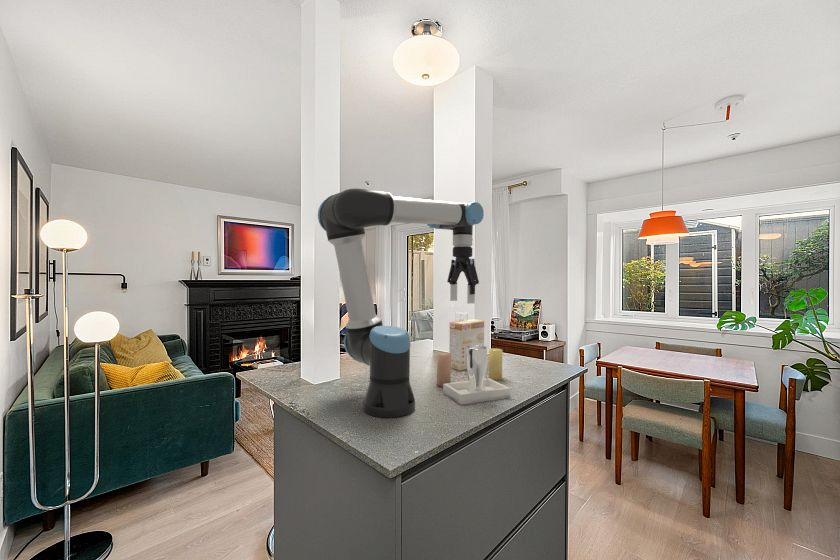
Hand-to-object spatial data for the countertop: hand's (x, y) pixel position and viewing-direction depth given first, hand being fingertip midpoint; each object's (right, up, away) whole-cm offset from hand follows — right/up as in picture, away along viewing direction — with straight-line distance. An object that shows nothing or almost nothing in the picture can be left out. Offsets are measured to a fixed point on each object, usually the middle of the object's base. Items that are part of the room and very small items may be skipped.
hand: (461, 302), depth 143 cm
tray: (+2, -29, -21) cm, 36 cm away
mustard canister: (+13, -29, -2) cm, 32 cm away
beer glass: (+2, -29, -21) cm, 36 cm away
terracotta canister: (-8, -29, -10) cm, 32 cm away
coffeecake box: (+4, -29, +16) cm, 33 cm away
